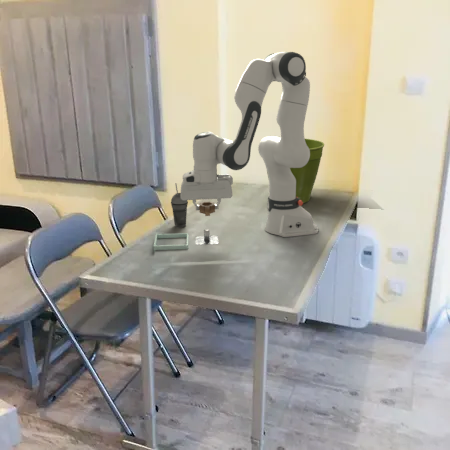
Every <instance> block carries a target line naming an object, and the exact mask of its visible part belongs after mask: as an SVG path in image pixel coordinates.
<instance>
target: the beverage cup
mask: <svg viewBox="0 0 450 450" xmlns="http://www.w3.org/2000/svg"><path fill="white" fill-rule="evenodd" d="M177 185H178V184H177V183H176V182H175V190H176V193H175V194H173V196H172V197H171V200H170V205H171V208H172V216H173V223H174V227H175V228H178V229H182V228H183V229H184V228H185V227H187V215H188V213H187V211H188V203H189V200H182V199H181V192H179V190H178V186H177Z"/></svg>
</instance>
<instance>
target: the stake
mask: <svg viewBox="0 0 450 450" xmlns="http://www.w3.org/2000/svg"><path fill="white" fill-rule="evenodd" d="M210 234H211V233H210V229H209V228H207V229H206V228H205V229H204V230H203V235H201V236H199V235H197V236H196V235H195V246H197V245H201V246H202V245H219V236H218V235H210Z"/></svg>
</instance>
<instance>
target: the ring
mask: <svg viewBox="0 0 450 450" xmlns="http://www.w3.org/2000/svg"><path fill="white" fill-rule="evenodd" d="M215 204H216V203H215V202H213V201H202V202H199V204H198V205H199V209H200V210H199V213H200V214H204V215H205V217H210V216H211V214H213V213H215V212H216V209H215Z"/></svg>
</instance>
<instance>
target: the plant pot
mask: <svg viewBox="0 0 450 450" xmlns="http://www.w3.org/2000/svg"><path fill="white" fill-rule="evenodd" d="M305 142H306V145H307V146H308V148H309V150H310V158H309V161H308V162H307V164H306V165H305V166H303V167H301V168H290V170H291V172H292V174H293V175H294V177H295V179H296V197H298V198H299V199H300V200H302V202H303V204H305V203H308V202H309V201H310V200H311V195H312V192H313V188H314V185H315V183H316V179H317V176H318V172H319V168H320V165H321V159H322V157H323V148H324V147H325V143H324V142H322V141H320V140H316V139H312V138H311V139H310V138H305ZM266 174H267V175H268V172H267V171H266ZM267 179H268V180H269V177H268V176H267Z"/></svg>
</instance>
